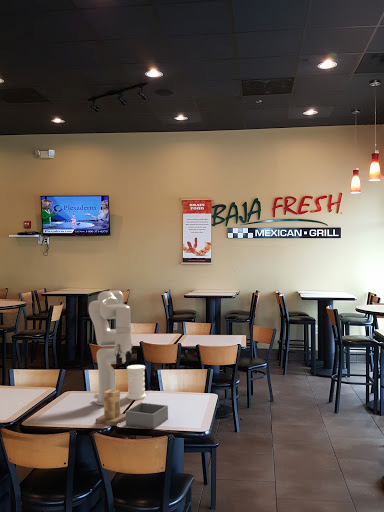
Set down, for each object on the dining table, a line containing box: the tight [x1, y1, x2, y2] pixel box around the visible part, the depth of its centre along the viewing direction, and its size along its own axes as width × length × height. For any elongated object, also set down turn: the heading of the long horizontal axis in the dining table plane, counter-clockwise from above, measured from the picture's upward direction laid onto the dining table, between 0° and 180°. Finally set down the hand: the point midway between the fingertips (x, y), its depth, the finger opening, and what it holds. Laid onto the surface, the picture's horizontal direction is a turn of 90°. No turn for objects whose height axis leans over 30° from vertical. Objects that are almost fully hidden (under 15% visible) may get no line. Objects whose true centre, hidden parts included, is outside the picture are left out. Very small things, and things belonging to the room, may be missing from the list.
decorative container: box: [126, 364, 147, 401], centre depth 292 cm, size 12×12×18 cm
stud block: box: [95, 413, 126, 427], centre depth 250 cm, size 12×12×9 cm
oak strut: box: [103, 389, 121, 419], centre depth 250 cm, size 6×6×13 cm
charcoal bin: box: [125, 402, 169, 430], centre depth 246 cm, size 16×16×7 cm
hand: (123, 363), depth 252 cm, fingers open, 9 cm apart
